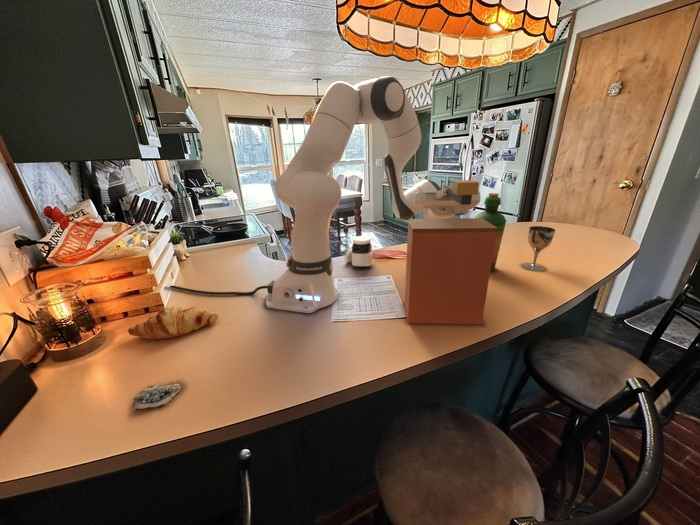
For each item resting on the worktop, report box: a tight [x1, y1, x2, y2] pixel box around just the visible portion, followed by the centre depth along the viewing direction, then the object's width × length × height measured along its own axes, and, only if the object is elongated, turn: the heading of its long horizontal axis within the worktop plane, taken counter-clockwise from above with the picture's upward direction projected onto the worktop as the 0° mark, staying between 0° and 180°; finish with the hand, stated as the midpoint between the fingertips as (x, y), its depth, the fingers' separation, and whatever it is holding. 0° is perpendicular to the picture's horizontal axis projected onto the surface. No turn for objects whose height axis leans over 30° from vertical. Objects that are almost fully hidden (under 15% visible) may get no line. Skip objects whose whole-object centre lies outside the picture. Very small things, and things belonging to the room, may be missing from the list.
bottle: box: [474, 192, 507, 272], centre depth 101 cm, size 11×11×28 cm
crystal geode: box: [131, 383, 182, 410], centre depth 54 cm, size 7×8×2 cm
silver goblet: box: [522, 225, 556, 272], centre depth 103 cm, size 8×8×15 cm
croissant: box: [127, 306, 219, 340], centre depth 74 cm, size 21×10×8 cm, turn 111°
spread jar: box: [344, 235, 373, 270], centre depth 112 cm, size 12×11×12 cm
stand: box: [404, 217, 497, 325], centre depth 73 cm, size 19×10×26 cm, turn 85°
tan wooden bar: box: [442, 179, 480, 205], centre depth 78 cm, size 5×21×5 cm, turn 175°
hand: (452, 190), depth 83 cm, fingers closed on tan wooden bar, 2 cm apart
